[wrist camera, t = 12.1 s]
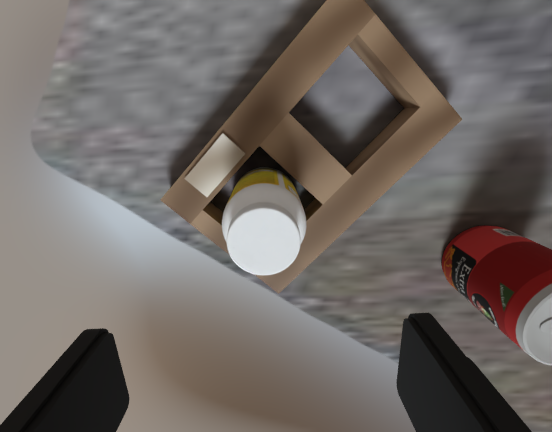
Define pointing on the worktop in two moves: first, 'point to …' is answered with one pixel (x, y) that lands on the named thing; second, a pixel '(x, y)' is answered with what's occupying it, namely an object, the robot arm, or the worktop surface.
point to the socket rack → (304, 147)
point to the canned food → (506, 284)
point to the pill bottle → (264, 222)
